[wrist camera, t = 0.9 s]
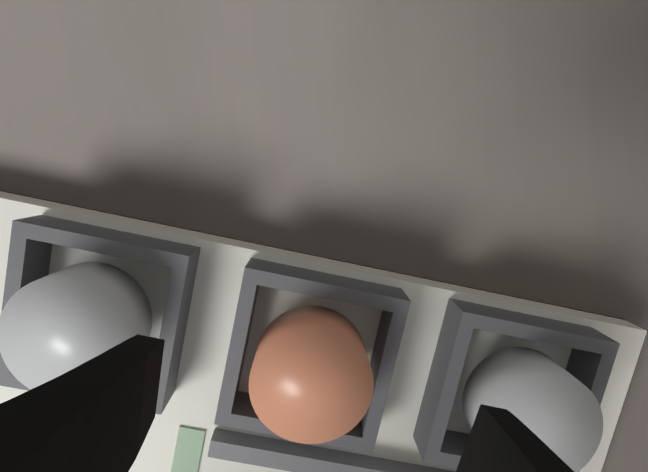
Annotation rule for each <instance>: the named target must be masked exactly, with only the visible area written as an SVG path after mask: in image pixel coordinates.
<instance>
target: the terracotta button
mask: <svg viewBox="0 0 648 472" xmlns="http://www.w3.org/2000/svg"><path fill="white" fill-rule="evenodd" d="M373 389H374V380H373V373H372V369H371V366H370V362H369V359H368V356H367V352H366V349H365V346H364V343H363V340H362V337H361V335H360V333H359V332H358V330H357V329H356V327H355V326H354V325H353V324H352V323H351V322H350V321H349V320H348V319H347V318H346V317H345V316H343V315H342V314H340V313H338V312H337V311H334V310H332V309H329V308H325V307H321V306H302V307H297V308H294V309H291V310H288V311H286V312H284V313H283V314H281V315H279V316H278V317H277V318H275V319H274V320H273V321H272V322H271V323H270V324H269V325H268V326H267V328H266V329H265V331H264V332H263V334H262V336H261V338H260V340H259V343H258V347H257V350H256V354H255V357H254V361H253V364H252V368H251V371H250V375H249V396H250V400H251V404H252V406H253V409H254V411H255V413H256V414H257V416H258V418H259V419H260V420H261V422H262V423H263V424H264V425H265V426H266V427H267V428H268V429H269V430H271V431H272V432H273V433H275V434H276V435H278V436H280V437H282V438H284V439H286V440H289V441H292V442H296V443H302V444H319V443H325V442H329V441H332V440H334V439H337V438H339V437H341V436H343V435H345V434H346V433H348V432H349V431H351V430H352V429H353V428H354V427H355V426H356V425H357V424H358V423H359V422H360V421H361V420H362V418H363V417H364V415H365V414H366V412H367V410H368V408H369V406H370V403H371V400H372V396H373Z"/></svg>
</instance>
